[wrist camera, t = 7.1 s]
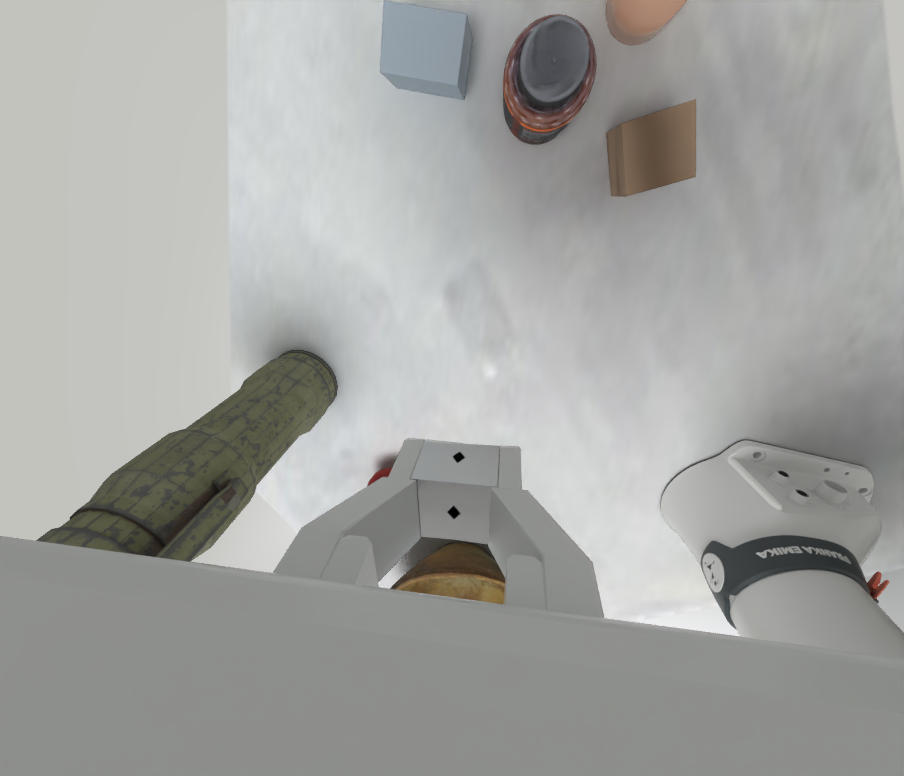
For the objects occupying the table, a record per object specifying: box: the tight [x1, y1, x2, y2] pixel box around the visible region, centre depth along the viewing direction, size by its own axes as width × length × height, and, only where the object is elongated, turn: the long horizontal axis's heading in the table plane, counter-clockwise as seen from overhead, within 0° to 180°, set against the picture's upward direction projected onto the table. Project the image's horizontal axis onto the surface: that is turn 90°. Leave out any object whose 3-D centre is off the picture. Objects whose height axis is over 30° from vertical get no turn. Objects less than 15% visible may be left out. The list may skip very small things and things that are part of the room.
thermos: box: [36, 350, 338, 562], centre depth 33 cm, size 9×12×35 cm
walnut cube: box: [606, 99, 696, 196], centre depth 30 cm, size 5×5×5 cm
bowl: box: [390, 542, 505, 604], centre depth 56 cm, size 22×23×10 cm
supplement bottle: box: [503, 14, 596, 144], centre depth 27 cm, size 6×6×11 cm
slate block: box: [380, 0, 473, 100], centre depth 29 cm, size 6×4×5 cm, turn 81°
